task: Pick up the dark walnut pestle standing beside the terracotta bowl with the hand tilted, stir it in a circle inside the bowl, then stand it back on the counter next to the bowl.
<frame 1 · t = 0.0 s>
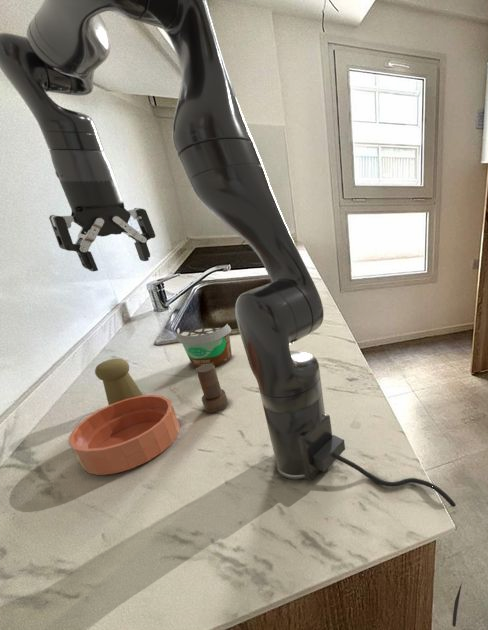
hand: (120, 265, 66), 29 cm above the counter, tool pointing down, fingers open, 8 cm apart
cork: (128, 405, 72), on the counter
pestle: (216, 406, 72), on the counter
food container: (209, 365, 86), on the counter
bowl: (135, 444, 62), on the counter
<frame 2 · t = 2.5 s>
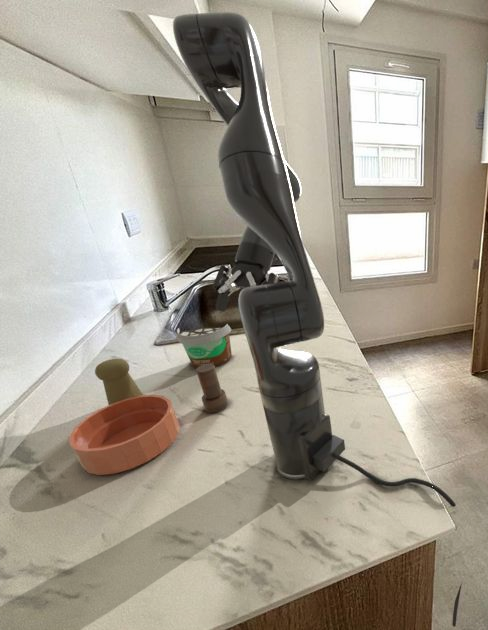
hand: (236, 313, 74), 18 cm above the counter, tool tilted 40°, fingers open, 8 cm apart
nothing on the counter moved.
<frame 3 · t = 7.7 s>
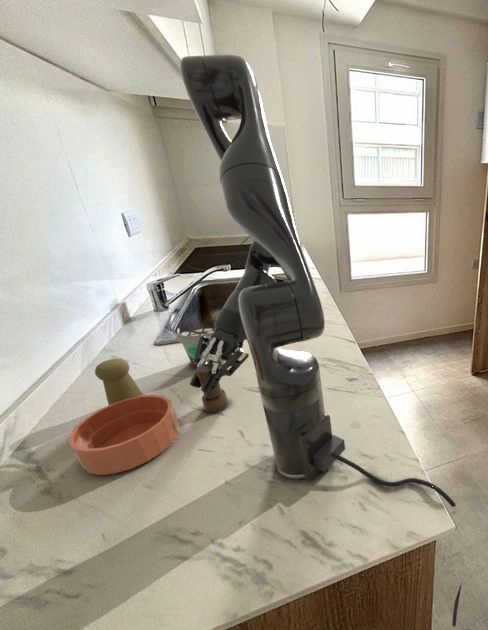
hand: (200, 388, 68), 6 cm above the counter, tool tilted 45°, fingers closed on pestle, 3 cm apart
pestle: (217, 406, 72), on the counter, touching gripper
everything else where it was.
when the fingers open (6 cm above the counter, at t = 21.8 s): pestle stays where it is, on the counter.
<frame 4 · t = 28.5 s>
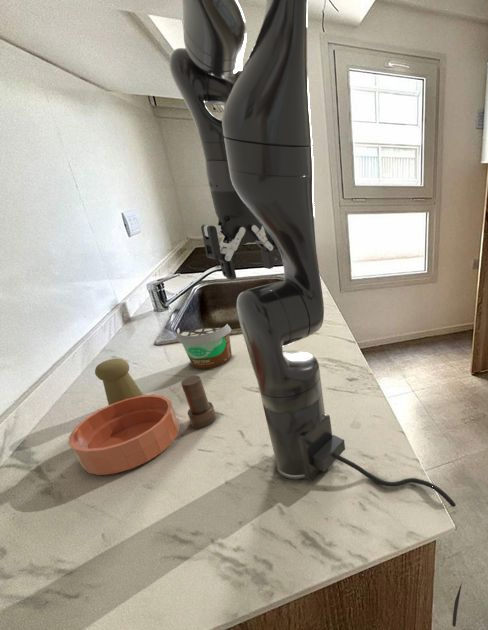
hand: (251, 273, 67), 28 cm above the counter, tool pointing down, fingers open, 8 cm apart
pestle: (204, 420, 68), on the counter
everything else where it was.
at the end: pestle inside the target area (0.2 cm from its centre), on the counter; pestle tilted 0°; the gripper is holding nothing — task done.
